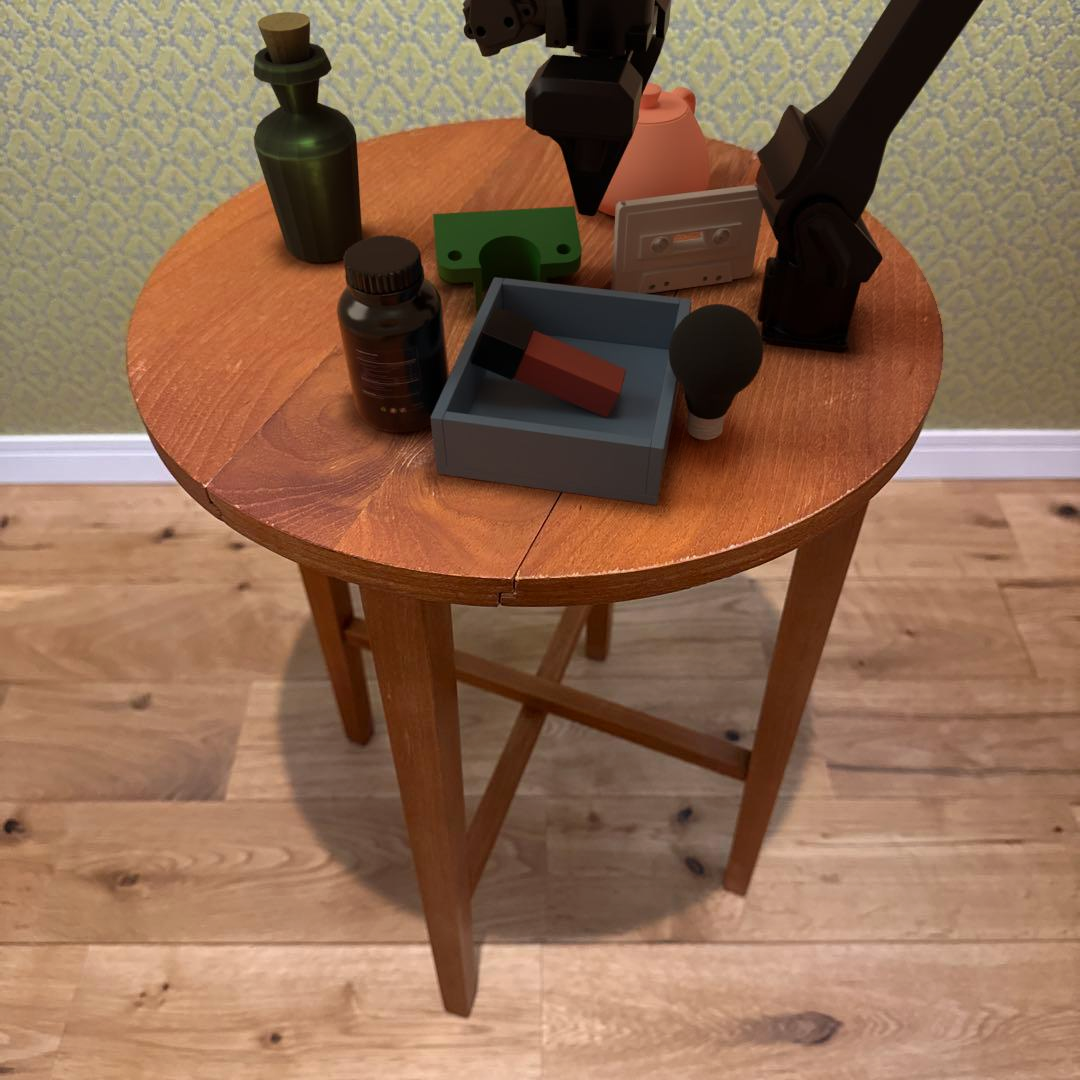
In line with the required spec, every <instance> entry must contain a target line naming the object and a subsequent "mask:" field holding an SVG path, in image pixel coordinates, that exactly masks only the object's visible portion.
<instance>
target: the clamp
mask: <svg viewBox="0 0 1080 1080" xmlns="http://www.w3.org/2000/svg"><path fill="white" fill-rule="evenodd" d="M576 214H577V213H576V207H575V206H574V205H572V206H571V205H570V206H554V207H552V206H551V207H538V208H537V207H535V208H518V209H501V210H499V209H498V210H482V211H465V212H448V213H447V212H446V213H433V214H432V220H433V234H434V247H435V261H436V271H437V275H438V277H439V279H440V280H441V281H442V282H444V283H446V284H449V285H467V284H473V295H474V302H475V303H474V304H475V310H476V311H479V310H480V308H481V305H482V303H483V301H484V298H483V295H484V291H485V290H486V289H487V288H488V287H490V286H491V283H492V281H493V279H494V277H497V278H504V279H505V278H507V279H516V280H525V281H534V282H543V283H548V279H559V278H560V279H561V278H564V277H567V276H571V275H574V274H575V273H576V272H578V271H579V270H580V268H581V266H582V265H581V263H582V253H583V252H582V251H583V248H582V243H581V238H580V237H581V236H580V232H579V226H578V220H577V215H576Z"/></svg>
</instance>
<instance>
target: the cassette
mask: <svg viewBox="0 0 1080 1080" xmlns="http://www.w3.org/2000/svg"><path fill="white" fill-rule="evenodd" d="M763 212H764V208H763V206H762V203H761V201H760V198H759V195H758V191H757V184H756V183H755V184H748V185H740V186H733V187H725V188H716V189H708V190H707V189H706V190H705V191H699V192H691V193H683V194H675V195H667V196H659V197H651V198H643V199H635V200H627V201H620V202H618V203H617V205H616V212H615V216H614V233H613V248H612V249H613V252H612V267H611V268H612V269H611V286H610V287H611V288H610V290H614V291H623V292H632V293H641V294H653V293H660V292H666V291H667V292H668V291H674V290H682V289H690V288H695V287H697V288H698V287H703V286H709V285H710V286H711V285H717V284H724V283H731V282H733V280H737V279H744V278H745V279H746V278H750V277H751V276H752V274H753V270H754V263H755V258H756V251H757V247H758V242H759V234H760V230H761V229H760V228H761V224H762V219H763ZM693 233H694V234H695V233H700V236H699V237H697V238H690V239H689V238H688V239H681V240H674V238H675V236H677V235H686V234H693Z"/></svg>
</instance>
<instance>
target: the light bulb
mask: <svg viewBox="0 0 1080 1080" xmlns="http://www.w3.org/2000/svg"><path fill="white" fill-rule="evenodd" d="M763 359H764V341H762V337H761V331H760V329H759V328H758V326H757V324H756V322H754V320H753V319H752V317H750V315H748V314H747V313H746V312H744V311H743V310H741V309H739V308H737V307H735V306H731V305H728V304H722V303H713V304H707V305H703V306H701V307H698V308H696V309H694V310H692V311H690V314H688V315H687V316H686V317H684V318H683V319H682V321H681V322H680V323H679V324H678V326H677V327H676V329H675V331H674V333H673V335H672V338H671V341H670V346H669V362H670V366H671V368H672V371H673V374H674V376H675V377H676V379H677V380H678V381H679V383H680V384H679V385H681V387H682V389H683V391H684V400H685V404H686V410H687V416H686V422H685V427H686V431H687V433H688V434H689V435H691V436H692V437H693V438H695V439H697V440H699V441H709V440H714V439H716V438H717V437H720V435H721V434H722V433H723V429H724V423H725V420H726V418H725V416H726V415H727V413H728V411H729V409H730V408H731V406H732V405H733V402H734V399H735V397H737V395H738V394H739V393H740V392H742V391H743V390H745V389H746V388H747V387H748V386H750V384H751V383H752V382H753V381H754V380H755V378H756V377H757V375H758V373H759V371H760V368H761V365H762V363H763Z"/></svg>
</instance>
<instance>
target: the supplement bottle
mask: <svg viewBox="0 0 1080 1080" xmlns="http://www.w3.org/2000/svg"><path fill="white" fill-rule="evenodd" d="M343 267H344V272H345V275H344V277H345V279H344V280H345V284H346V287H345V288H344V289H343V290H342V292H341V294H340V296H339V298H338V301H337V305H336V313H337V314H336V316H337V321H338V326H339V332H340V336H341V342H342V347H343V351H344V356H345V362H346V367H347V373H348V377H349V382H350V386H351V387H350V388H351V391H352V392H351V393H352V396H353V401H354V406H355V409H356V411H357V413H358V415H359V417H360V418H361V419H362V420H363V421H364V423H367V424H368V425H370V426H371V427H372V428H375V429H377V430H381V431H384V432H388V433H399V434H400V433H411V432H415V431H419V430H423V429H425V428H428V427H429V426H431V415H432V413H433V411H434V409H435V407H436V404H437V402H438V400H439V398H440V396H441V393H442V391H443V389H444V387H445V385H446V382H447V380H448V378H449V376H450V366H449V357H448V348H447V340H446V339H447V338H446V329H445V320H444V309H443V302H442V298H441V295H440V293H439V291H438V289H437V288H436V287H435V285H434V284H433V283H432V282H431V281H430V280H428V278H426V277H425V268H424V266H423V264H422V256H421V251H420V249H419V246H418V245H417V244H416V243H415V242H414V241H412V240H411V239H408V238H407V237H402V236H400V235H393V234H383V235H381V234H379V235H375V236H369V237H365V238H362V240H360V241H357V242H356V243H355V244H352V246H351V247H349V248H348V250H347V251H345V255H344V258H343Z"/></svg>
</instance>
